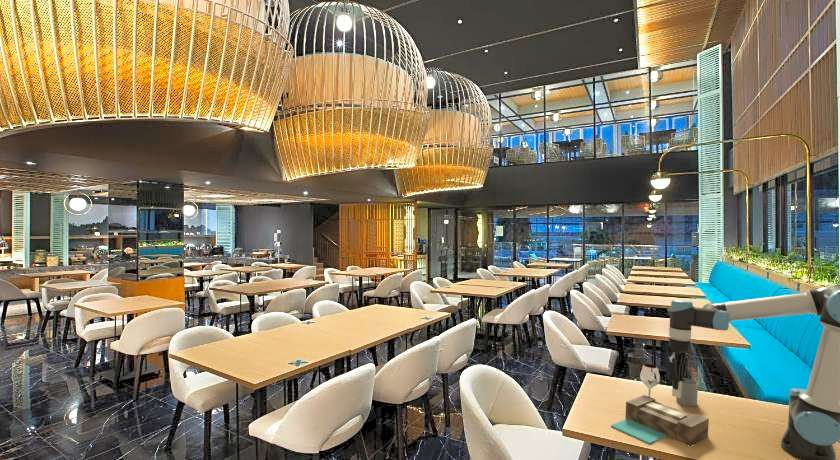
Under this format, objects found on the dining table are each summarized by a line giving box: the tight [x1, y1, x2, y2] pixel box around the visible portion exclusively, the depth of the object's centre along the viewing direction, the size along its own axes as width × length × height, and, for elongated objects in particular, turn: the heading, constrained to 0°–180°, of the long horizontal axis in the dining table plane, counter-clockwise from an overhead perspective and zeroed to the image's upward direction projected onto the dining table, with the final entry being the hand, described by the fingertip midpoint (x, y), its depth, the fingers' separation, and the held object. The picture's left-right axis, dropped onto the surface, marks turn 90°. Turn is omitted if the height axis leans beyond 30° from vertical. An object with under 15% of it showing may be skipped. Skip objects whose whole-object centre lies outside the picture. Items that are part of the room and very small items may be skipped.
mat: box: [610, 419, 667, 445], centre depth 173 cm, size 16×12×1 cm
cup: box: [675, 378, 699, 407], centre depth 202 cm, size 8×8×10 cm
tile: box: [646, 402, 687, 421], centre depth 177 cm, size 14×5×2 cm, turn 33°
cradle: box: [624, 394, 710, 447], centre depth 177 cm, size 26×14×8 cm, turn 33°
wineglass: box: [639, 363, 661, 397], centre depth 199 cm, size 8×8×18 cm
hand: (676, 396), depth 173 cm, fingers closed
